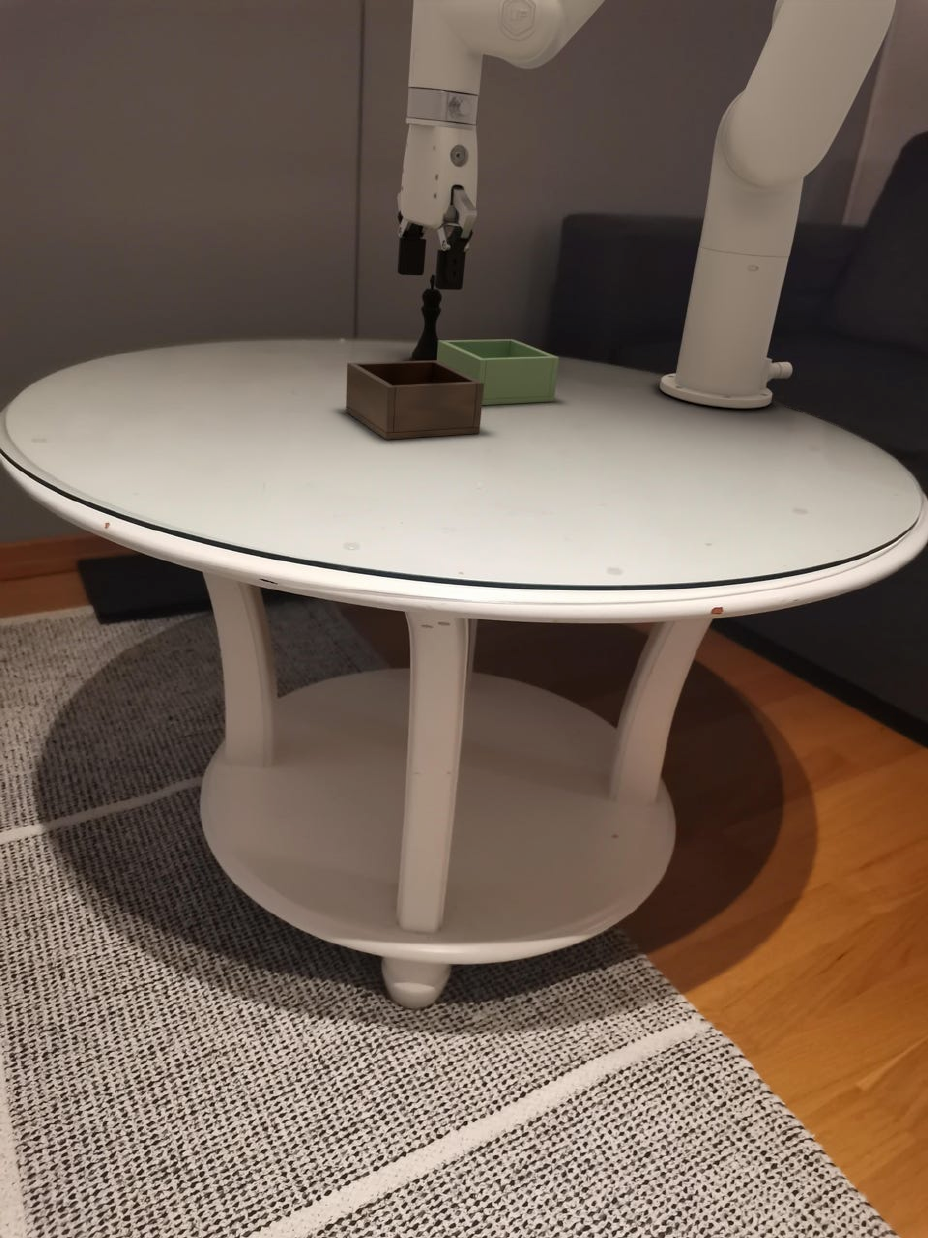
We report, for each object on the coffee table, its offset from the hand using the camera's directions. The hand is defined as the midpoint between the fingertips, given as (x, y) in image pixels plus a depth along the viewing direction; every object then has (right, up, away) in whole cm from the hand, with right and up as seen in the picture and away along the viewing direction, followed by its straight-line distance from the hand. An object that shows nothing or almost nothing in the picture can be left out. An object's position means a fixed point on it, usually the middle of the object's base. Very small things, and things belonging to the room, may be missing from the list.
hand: (428, 281), depth 107 cm
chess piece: (0, -8, +4) cm, 9 cm away
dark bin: (-1, -20, -19) cm, 28 cm away
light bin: (+7, -14, -6) cm, 17 cm away
